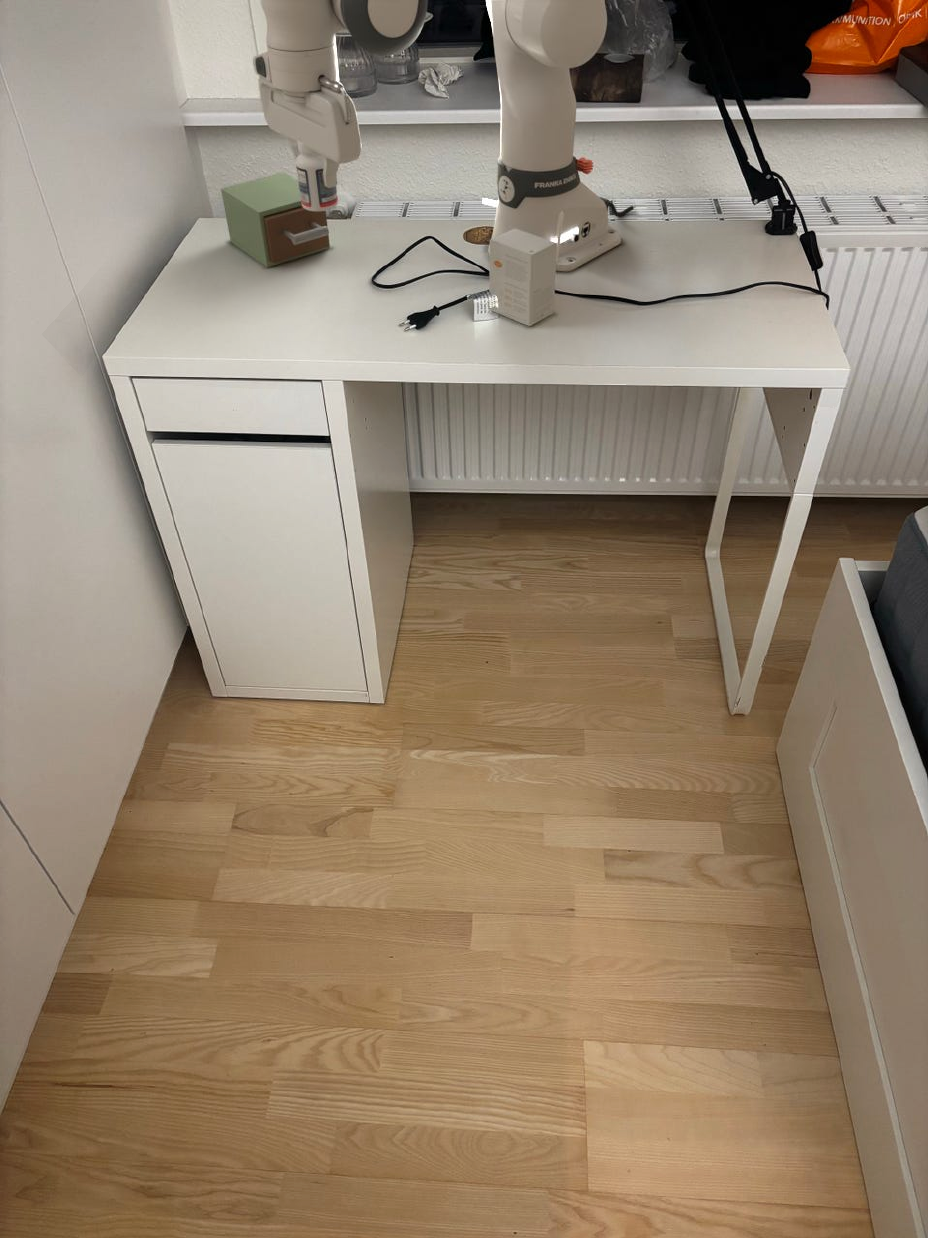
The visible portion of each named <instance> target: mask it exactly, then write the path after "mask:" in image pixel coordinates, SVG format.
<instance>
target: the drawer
mask: <svg viewBox="0 0 928 1238" xmlns="http://www.w3.org/2000/svg"><path fill="white" fill-rule="evenodd" d="M327 217H328V216H327V211H309V210H306V209H304V208H303V207H302V206H299V207H296V208H292V209H289V210H285V211H281V212H278V213H274V214H271V215H267V216H264V218H263V219H264V226H265V232H266V238H267V245H268V251H269V257H270V261H271V262H272V263H277V262H280V261H283V260H287V259H290V258H293V257H296V256H300V255H303V254H306V253H310V252H313V251H316V250H319V249H323V248H326V247H329V248H330V246H331V244H330V237H329V235H330V231H329V227H328V219H327Z"/></svg>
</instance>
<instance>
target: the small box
mask: <svg viewBox="0 0 928 1238" xmlns="http://www.w3.org/2000/svg"><path fill="white" fill-rule="evenodd" d="M489 245H490V248H489V247H488V248H489V250H490V252H488V254H489V257H488V258H489V264H488V267H489V268H488V269H489V274H488V275H489V276H488V277H489V290H488V291H491V292H493V293H494V294H495V295H496V296H497V298H498V302H499V308H497V307H492V308H489V310H490V311H491V312H494V313H496V314H498V315H501V316H503V317H506V318H508V319H510V320H513V321H515V322H518V323H520V324H522V325H525V326H527V327H532V326H533V325H535V324H537V323H539V322H540V321H542V320H545V318H547V317H549V316H551V315H553V314H554V312H555V295H556V293H555V292H556V288H555V287H556V273H557V270H556V252H557V243H556V242H553V241H550V240H547V239H544V238H541V237H539V236H536V235H533V234H530V233H527V232H524V231H521V230H518V229H513V230H510V231H508V232H506V233H504V234H501V235H499V236H497V237H495V238H493V239H489Z"/></svg>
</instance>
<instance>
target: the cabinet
mask: <svg viewBox="0 0 928 1238" xmlns="http://www.w3.org/2000/svg"><path fill="white" fill-rule="evenodd" d="M220 193H221V197H222V202H223V208H224V213H225V218H226V219H225V220H226V224H227V228H228V229H227V230H228V234H229V238H230V239H229V240H230V243H232V244H233V245H235V246H236V247H237V248H239V249H240V250H242V251H243V252H245V253H246V255H247V254H248V255H249V256H250V257H252V258H253V259H255V260H256V261H257V262H259V263H260V264H261V265H263V266H264V267H266V268H270V267H273V266H277V265H280V264H284V263H286V262H290V261H294V260H296V259H300V258H303V257H307V256H309V255H312V254H316V253H320V252H323V251H326V250H330V246H329V247H326V248H323V249H319V250H316V251H313V252H310V253H306V254H303V255H300V256H296V257H293V258H290V259H287V260H283V261H280V262H277V263H272V262H271V261H270V257H269V251H268V245H267V238H266V232H265V226H264V219H263V218H264V216H267V215H271V214H274V213H278V212H281V211H285V210H289V209H292V208H296V207H299V206H302V204H301V197H300V190H299V182H298V178H295V177H293V176H291V175H290V174H288V173H286V172H284V171H283V172H280V173H275V174H272V175H268V176H264V177H261V178H260V177H259V178H255V179H252V180H248V181H245V182H241V183H237V184H233V185H230V186H225V187H221V188H220Z"/></svg>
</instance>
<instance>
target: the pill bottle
mask: <svg viewBox="0 0 928 1238" xmlns="http://www.w3.org/2000/svg"><path fill="white" fill-rule="evenodd" d="M297 142H298V149H299V152H300V153H301V154H300V155H299V156H298V157H297V159H295V167H296V173H297V180H298V182H299V190H300V197H301V204H302V207H303V208H304V209H306V210H309V211H326V212H327V211H331V210H333V209H335V208H336V207H337V206H338V204H339V196H338V189H337V188H338V187H337V185H336V186H335V187H331V188H328V187H326V186H324V185H322V183H321V177H320V172H323V169H324V162H322V158H321V154H319V153H317V152H315V151H313V150H311V149H309V148H307V147H306V145H305V143H303V142H301V141H299V140H297Z"/></svg>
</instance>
